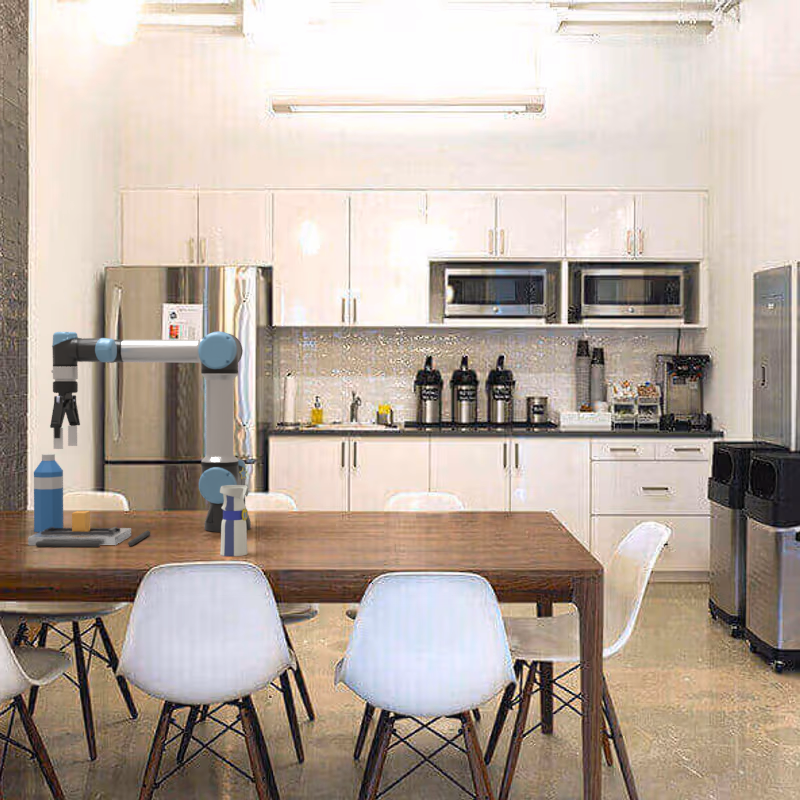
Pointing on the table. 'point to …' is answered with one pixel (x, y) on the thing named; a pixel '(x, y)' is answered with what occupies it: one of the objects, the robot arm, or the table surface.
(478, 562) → the table surface
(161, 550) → the table surface
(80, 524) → the matte orange cube
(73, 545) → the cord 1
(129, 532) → the panel
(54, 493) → the water bottle
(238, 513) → the white tall piece
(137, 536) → the rounded gray dowel
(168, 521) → the table surface
